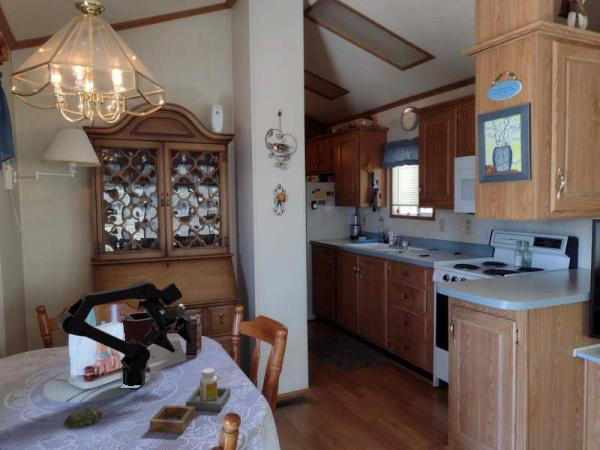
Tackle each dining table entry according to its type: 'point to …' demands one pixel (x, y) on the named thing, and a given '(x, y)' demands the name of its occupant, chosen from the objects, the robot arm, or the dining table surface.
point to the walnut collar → (172, 425)
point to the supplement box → (195, 336)
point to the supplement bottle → (208, 385)
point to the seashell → (83, 418)
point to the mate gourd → (137, 326)
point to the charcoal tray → (215, 406)
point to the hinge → (164, 356)
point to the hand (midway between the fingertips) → (183, 347)
